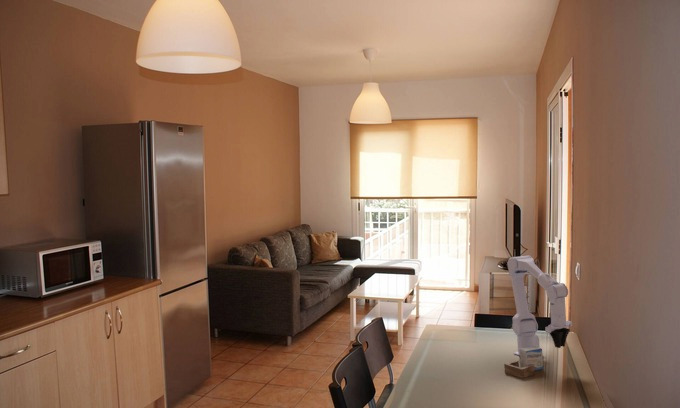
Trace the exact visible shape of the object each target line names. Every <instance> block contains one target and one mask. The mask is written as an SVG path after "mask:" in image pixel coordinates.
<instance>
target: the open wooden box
mask: <svg viewBox="0 0 680 408" xmlns="http://www.w3.org/2000/svg"><path fill="white" fill-rule="evenodd" d="M519 363H520V360H513V361H510V362H507V363H506V362H505V363H504V365H503V366H504V373H505V374H508V375H511V376H514V377H517V378H520V379H525V378H527V377H530V376H533V375H535V371H534V365H529V366H526V367H523V368H521V366H520V364H519Z"/></svg>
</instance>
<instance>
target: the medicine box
mask: <svg viewBox="0 0 680 408" xmlns="http://www.w3.org/2000/svg"><path fill="white" fill-rule="evenodd" d="M519 363H520V364H519V366H520V368H523V367H526V366H529V365H534V372H535V371H541V370H543V369H544V364H543V363H544V360H543V349H542V348H541V347H540V348H539V347H536V346H535V347H529V348H522V349H520V355H519Z"/></svg>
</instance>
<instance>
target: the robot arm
mask: <svg viewBox="0 0 680 408" xmlns="http://www.w3.org/2000/svg"><path fill="white" fill-rule="evenodd" d="M506 264H507V269H508V275H509V276H510V281H511V287H512V292H513V297H514V302H515V309H516V313H515V315H514V316H513V317H512V325H511V327H512V331H513V333H514V334H515V335H516V337H517V338H516V340H517V351H514V352H513V355H515V356H516V355H517V356H520V349H522V348H529V347H535V346H536V347H539V348H541V347H540V338H539V335H538V334H537V332H538V329H539V325H538V322H537V320H536V315H534V314H532V312H530V311H529V310H530V309H529V304H528V297H527V292H526V286H525V281H524V277H525V275H526V274H528V273H529V274H530V275H532V276H533V277H534V278H535V279H537V284H538V285H540V287H542V289H544V290H545V292H546V295H547V298H548V302H549V303H550V304H549V305H550V324H548V326H545V332H546V333H549V335H550V336H551V338H552V341H553V344H554V347H555V348H557V349H561V347H565V346H566V341H567V337H568V336H569V333H570V331H571V330H570V328H569V327H573V321H570V320H567V313H566V312H567V311H566V298H567V297H568V295H569V289H568V287H567V285H566V284H565V283H563V282H561V283H560V282H558V281H557V280H556V279H555V278H553V276H552V275H550V273H548V272H543V271H542V270H541V269H540V268H539V267H538V266H537V264H536V263H535V259H534V258H533V257H532V256H531V255H523V256H522V255H521V256H511V257H510V258H508V261H507V263H506Z"/></svg>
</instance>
